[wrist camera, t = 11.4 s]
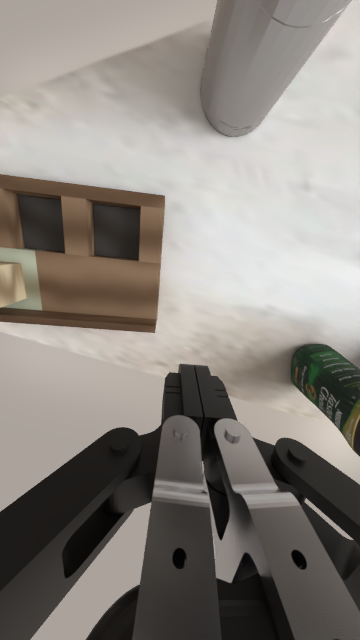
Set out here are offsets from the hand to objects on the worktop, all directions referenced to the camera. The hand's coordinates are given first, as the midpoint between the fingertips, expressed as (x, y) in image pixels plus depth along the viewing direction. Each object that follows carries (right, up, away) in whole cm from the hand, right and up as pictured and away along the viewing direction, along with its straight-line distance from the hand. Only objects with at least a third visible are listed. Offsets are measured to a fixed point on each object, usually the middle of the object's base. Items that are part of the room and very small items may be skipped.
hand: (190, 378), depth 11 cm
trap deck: (-16, +13, +20) cm, 29 cm away
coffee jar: (+25, -6, +29) cm, 38 cm away
